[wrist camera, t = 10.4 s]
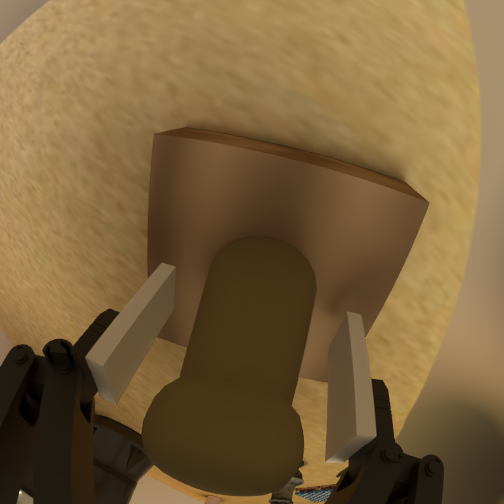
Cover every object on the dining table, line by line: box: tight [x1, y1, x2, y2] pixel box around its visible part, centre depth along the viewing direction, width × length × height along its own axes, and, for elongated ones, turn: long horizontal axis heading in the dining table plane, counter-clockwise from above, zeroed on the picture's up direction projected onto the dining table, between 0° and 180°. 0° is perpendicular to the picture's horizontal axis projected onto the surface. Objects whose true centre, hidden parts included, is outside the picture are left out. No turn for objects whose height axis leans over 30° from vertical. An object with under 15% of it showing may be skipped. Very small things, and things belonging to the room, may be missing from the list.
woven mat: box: [294, 484, 336, 502], centre depth 42 cm, size 10×11×2 cm
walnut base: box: [148, 128, 429, 382], centre depth 18 cm, size 14×14×4 cm
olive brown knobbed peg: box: [141, 236, 317, 496], centre depth 11 cm, size 6×6×11 cm
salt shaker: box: [269, 461, 304, 504], centre depth 30 cm, size 6×6×12 cm
